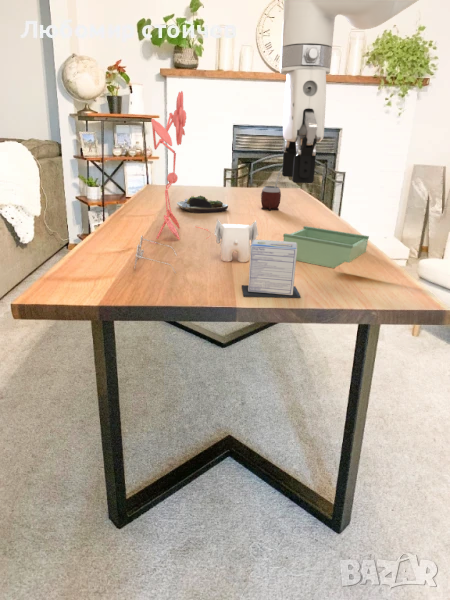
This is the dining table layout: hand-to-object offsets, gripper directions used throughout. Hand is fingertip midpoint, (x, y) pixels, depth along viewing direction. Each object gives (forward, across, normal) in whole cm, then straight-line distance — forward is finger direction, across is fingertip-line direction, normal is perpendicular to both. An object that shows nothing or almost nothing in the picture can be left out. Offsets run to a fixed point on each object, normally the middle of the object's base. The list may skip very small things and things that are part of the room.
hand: (296, 179), depth 73 cm
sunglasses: (+20, +16, +25) cm, 36 cm away
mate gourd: (+20, +87, -9) cm, 90 cm away
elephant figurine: (+20, +22, +8) cm, 31 cm away
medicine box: (+20, 0, +3) cm, 20 cm away
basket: (+20, +23, -12) cm, 33 cm away
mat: (+20, 0, +3) cm, 20 cm away
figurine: (+19, +42, +21) cm, 51 cm away
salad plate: (+19, +84, +16) cm, 87 cm away
